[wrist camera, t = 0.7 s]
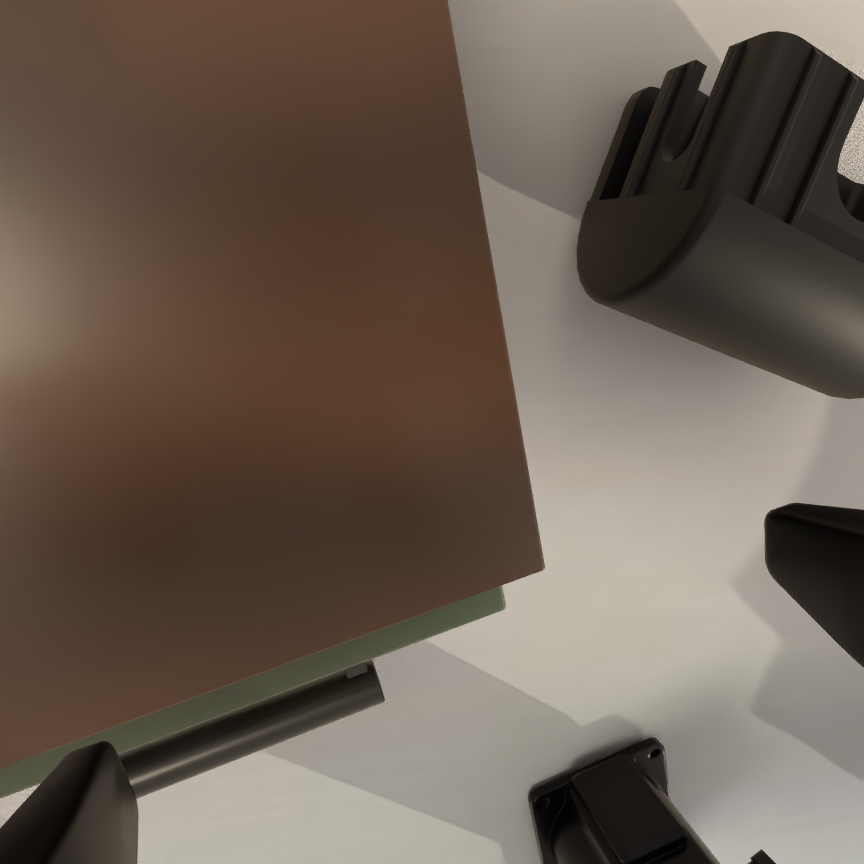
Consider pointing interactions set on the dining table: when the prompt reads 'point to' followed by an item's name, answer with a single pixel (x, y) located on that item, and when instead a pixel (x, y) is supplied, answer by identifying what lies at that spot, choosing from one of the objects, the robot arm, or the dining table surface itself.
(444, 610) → the drawer
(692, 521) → the dining table surface
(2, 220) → the cabinet
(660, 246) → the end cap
